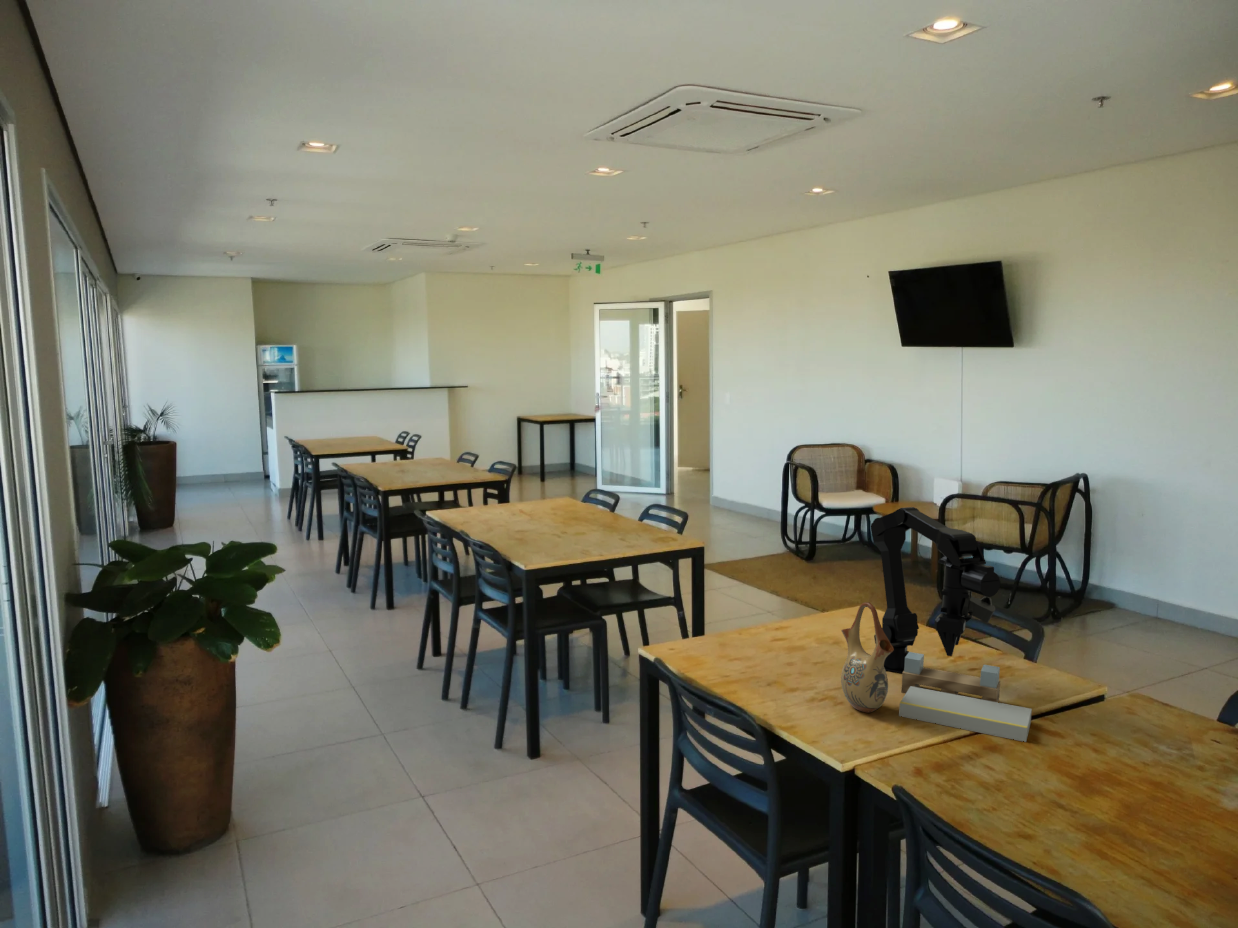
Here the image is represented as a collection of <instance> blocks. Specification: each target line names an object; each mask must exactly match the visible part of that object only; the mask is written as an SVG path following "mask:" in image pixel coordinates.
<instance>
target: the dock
mask: <svg viewBox="0 0 1238 928" xmlns="http://www.w3.org/2000/svg"><path fill="white" fill-rule="evenodd" d="M1032 709H1033V708H1030V707H1024V706H1020V705H1019V706H1018V705H1012V704H1007V703H1003V702H1002V703H1001V702H999V703H998V702H992V701H987V700H982V698H981V699H980V698H975V697H970V696H966V695H965V696H964V695H960V694H958V695H955V694H950V693H944V692H941V691H938V690H932V689H927V688H922V687H919V688H918V687H912V686H910V688H909V689H908V691H907V692H906V693H904V695H903V697H902V699H901V700H900V702H899V711H898V717H901V716H902V717H903V718H908V719H911V720H912V719H913V720H916V719H917V720H918V721H920V722H925V723H926V722H927V723H932V724H935V723H936V725H941V726H946V727H950V728H954V729H955V728H956V729H960V728H961V730H966V731H970V732H976V733H979V734H980V733H981V734H985V735H990V736H995V737H998V738H1005V739H1008V740H1009V739H1010V740H1013V739H1014V741H1018V742H1023V741H1024V743H1027V739H1028V735H1029V731H1030V727H1031V723H1032V712H1033V711H1032ZM917 720H916V721H917Z"/></svg>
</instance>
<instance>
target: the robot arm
mask: <svg viewBox="0 0 1238 928" xmlns="http://www.w3.org/2000/svg"><path fill="white" fill-rule="evenodd" d="M909 530H913V531H915V532H916V533H918V534H920V535H921V536H923V537H925V538H926V539H928V540H930V541H931V542H933V543H934V544H935V545H936V548H937V550H938V551H939V552H940V553H941V554H942V555H943V556H942V557H941V558H939V559H938V563H939V564H941V565H944V577H943V589H942V590H941V595H942V606H941V607H940V612H941V613H940V614H939V615H938V616H936V618H935V620H934V627H933V628H934V629H935V632H937V634H938V637H939V639H940V641H941V644H942V645H943V649H944V651H945V655H946V656H947V657H952V656H953V654H954V650H955V647H956V646H958V645H959V643H960V640H961V638H962V637H961V636H962V635H963V634H964V633H965V630H966V623H967V622H968V621H971V618H972V617H975V618H977V619H979V620H980V621H981V622H983V623H985V624H989V622H990V621H991V619H992V617H993V614H994V613H995V610H996V607H995V605H994V604H993V602H992V598H991V597H994V596H996V595H997V593H998V592H999V590H1000V587H1001V580H1000V577H999V575H998V574H997V573H996V572H995V567H994V566H992V565H986V563H987V561H986V560H985V556H984V554H983V552H982V550H981V548H980V546H979V543H978V540H977V538H976V536H975V535H974V534H973V533H972V532H969V531H966V530H962V529H957V528H951V527H948V526H947V525H944V524H943V523H941V522H939V521H937V520H935V519H934V518H932V517H930V516H929V515H927V514H926V513H923V512H921V511H920V510H919V509H918V508H916V507H914V506H911V507H910V506H908V507H899V508H897V509H896V510H894V511H893V512H891V513H890V512H889V513H888V514H886V515H885V514H884V515H883V516H881V517H876V518H874V520H873V521H872V523H870V532H871V535H872V536H871V537H872V540H873V543H874V545H875V546H876V547H877V549H878V550H879V551H880V554H881V555H880V556H881V564H882V565H881V566H882V574H883V581H884V590H885V600H886V609H885V611H884V614H883V616H882V619H881V627H882V629H883V631H884V633H885V635H886V637H887V638H888V640H889V642H890V643H891V645H892V646H893V648H894V650H893V652H892V653H890V654H889V655H888V656H887V657H886V659H885V661H884V668H885V671H886V672H894V673H899V674H902V673H903V671H904V665H905V657H906V656H907V654H908V653H909V652H910V650H908V646H909V647H910V646H914V643H915V641H916V638H917V636H918V634H919V630H920V627H919V624H918V614H917V613H916V612H912V611H911V609H910V608H909V607H908V601H907V600H908V599H907V591H906V584H905V573H904V564H903V558H902V550H903V546H904V544H905V542H906V540H907V537H906V536H907V535H906V533H907V531H909ZM973 593H975V594H978V595H981V596H983V597H982V598H979V597H977V598H976V597H974V596H973ZM873 638H874V639H873V640H874V644H875V645H876V637H875V634H874V635H873Z"/></svg>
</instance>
